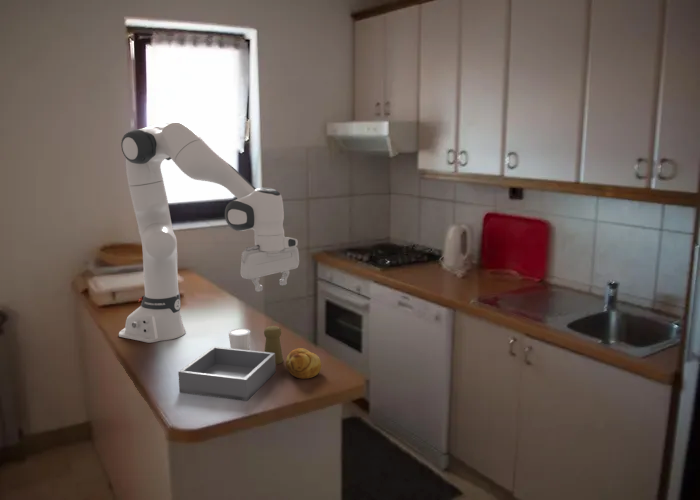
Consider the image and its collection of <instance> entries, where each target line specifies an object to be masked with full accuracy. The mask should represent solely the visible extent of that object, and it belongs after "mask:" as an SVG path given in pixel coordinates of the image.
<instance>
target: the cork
mask: <svg viewBox="0 0 700 500" xmlns="http://www.w3.org/2000/svg"><path fill="white" fill-rule="evenodd" d="M281 334H282V330H281V328H280V327H279V326H277V325H270V326H266V327H265V328H264V331H263V335H264V337H265V345H264V352H270V353H275V366H277V365H280V364H282V363H283V362H284V357H283V352H282V350H283V349H282V345H281V339H280V337H281V336H282V335H281Z"/></svg>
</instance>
